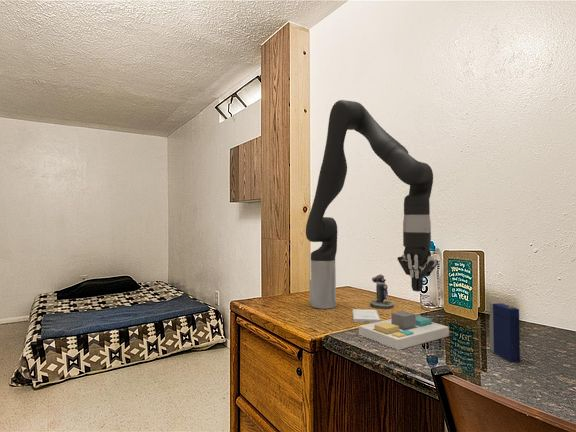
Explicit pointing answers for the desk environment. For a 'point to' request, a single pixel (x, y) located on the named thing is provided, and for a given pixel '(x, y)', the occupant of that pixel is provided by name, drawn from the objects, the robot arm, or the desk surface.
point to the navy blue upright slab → (504, 331)
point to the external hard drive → (365, 315)
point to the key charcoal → (403, 319)
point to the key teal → (422, 321)
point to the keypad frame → (405, 334)
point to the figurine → (381, 294)
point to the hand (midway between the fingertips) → (417, 290)
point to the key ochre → (386, 328)
